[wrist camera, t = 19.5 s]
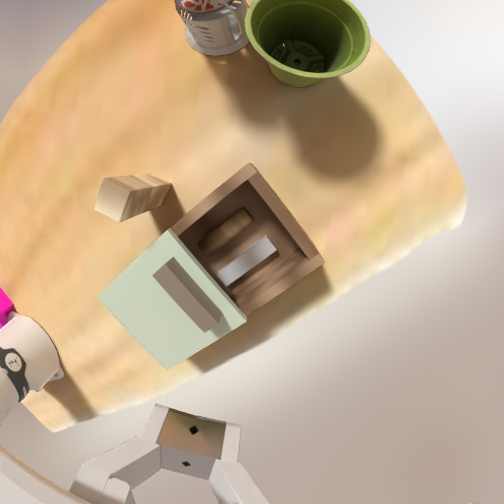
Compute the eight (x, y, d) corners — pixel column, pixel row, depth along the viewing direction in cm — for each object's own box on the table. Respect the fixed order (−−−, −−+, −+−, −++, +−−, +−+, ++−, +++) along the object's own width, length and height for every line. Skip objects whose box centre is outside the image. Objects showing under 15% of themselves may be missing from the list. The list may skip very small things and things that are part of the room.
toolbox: (200, 324, 40) (189, 352, 34) (141, 257, 38) (119, 275, 31) (314, 244, 36) (325, 262, 29) (252, 163, 33) (249, 162, 27)
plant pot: (334, 29, 27) (358, -11, 16) (344, 105, 31) (379, 83, 20) (246, 28, 28) (241, -18, 17) (252, 105, 31) (248, 78, 20)
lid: (168, 365, 34) (161, 382, 31) (101, 293, 32) (87, 305, 28) (246, 317, 31) (244, 333, 28) (170, 227, 29) (158, 235, 25)
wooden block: (162, 205, 35) (119, 222, 24) (142, 195, 35) (93, 209, 24) (171, 183, 35) (130, 191, 23) (151, 173, 34) (103, 178, 23)
